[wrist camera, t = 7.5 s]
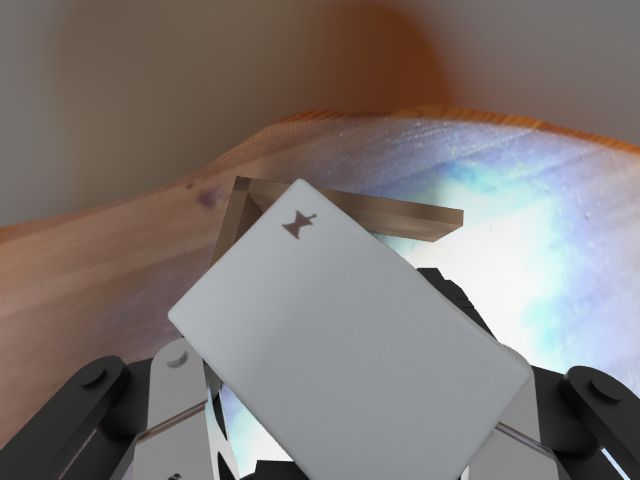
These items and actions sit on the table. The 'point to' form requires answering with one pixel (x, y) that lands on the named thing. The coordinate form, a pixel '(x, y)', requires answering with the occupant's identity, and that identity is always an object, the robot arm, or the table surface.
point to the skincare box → (347, 348)
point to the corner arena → (365, 210)
